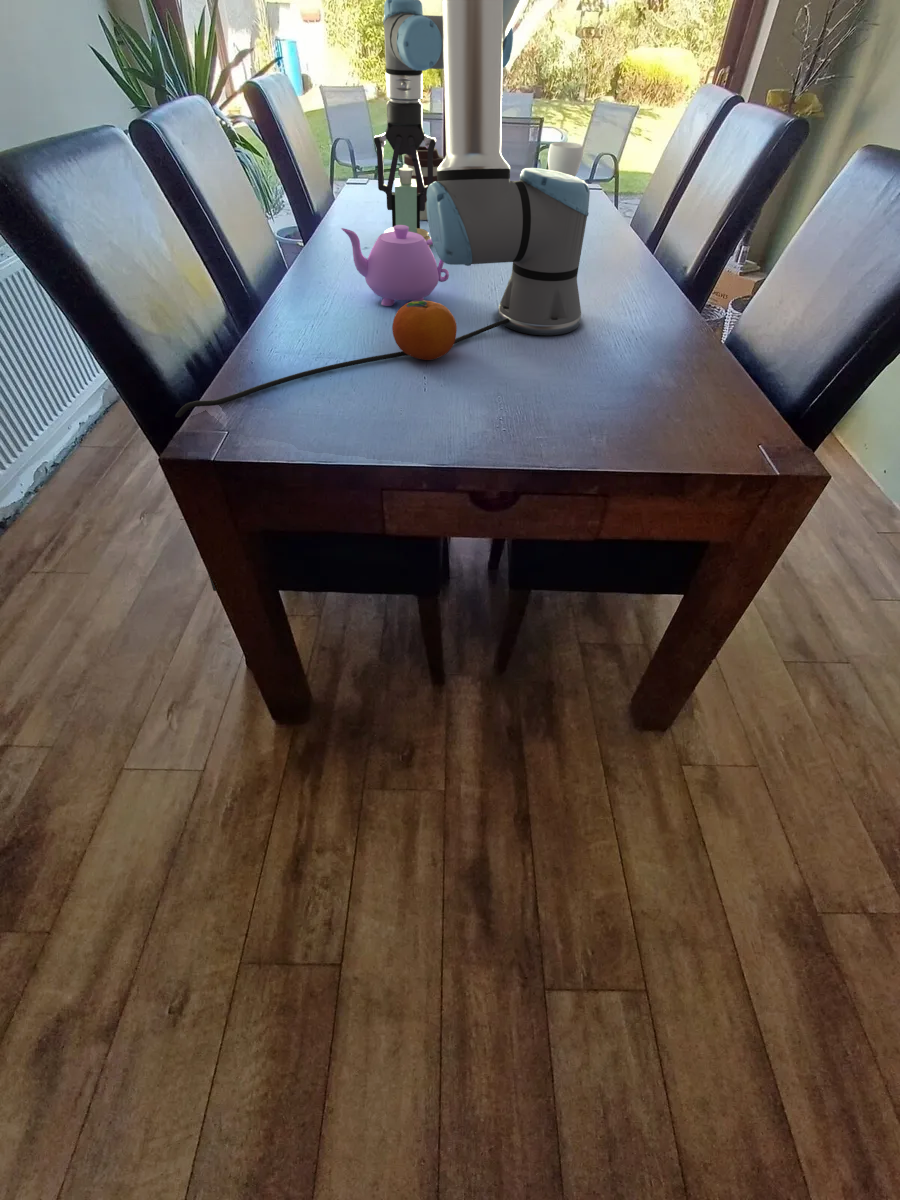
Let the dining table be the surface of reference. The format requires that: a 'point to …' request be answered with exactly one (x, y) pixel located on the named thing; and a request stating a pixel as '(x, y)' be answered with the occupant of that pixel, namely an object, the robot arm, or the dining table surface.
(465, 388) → the dining table surface
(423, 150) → the coffee cup
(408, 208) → the soap bottle
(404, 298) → the teapot
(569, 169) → the cup
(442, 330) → the fruit
